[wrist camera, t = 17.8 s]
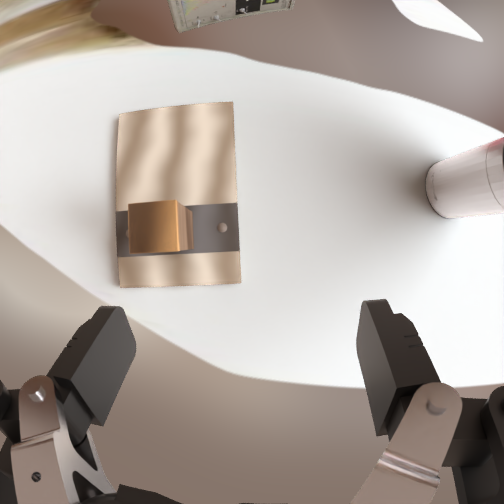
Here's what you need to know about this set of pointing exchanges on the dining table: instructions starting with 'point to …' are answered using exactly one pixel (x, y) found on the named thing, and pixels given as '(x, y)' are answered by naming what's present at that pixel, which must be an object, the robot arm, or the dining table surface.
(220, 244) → the subfloor panel
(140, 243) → the walnut block
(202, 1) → the geiger counter
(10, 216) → the dining table surface
